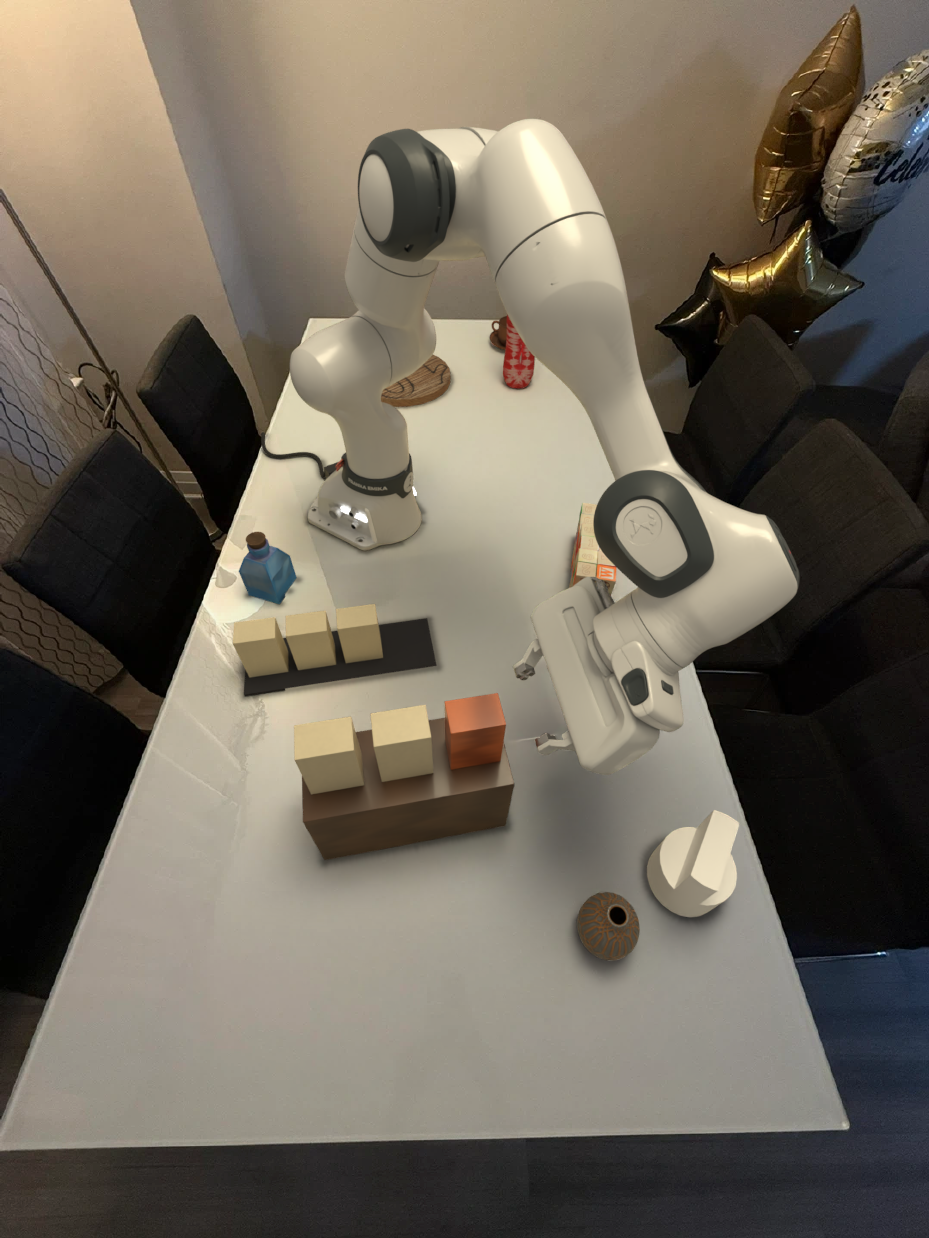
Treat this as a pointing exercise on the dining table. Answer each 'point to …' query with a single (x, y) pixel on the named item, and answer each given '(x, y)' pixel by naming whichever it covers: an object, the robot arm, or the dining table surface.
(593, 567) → the stack of blocks
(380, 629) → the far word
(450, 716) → the orange wooden block
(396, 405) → the trivet
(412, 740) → the brown wooden block
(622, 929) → the vase
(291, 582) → the perfume bottle
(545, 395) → the dining table surface
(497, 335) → the cappuccino
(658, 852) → the cylinder with rectangular tab
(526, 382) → the water bottle
